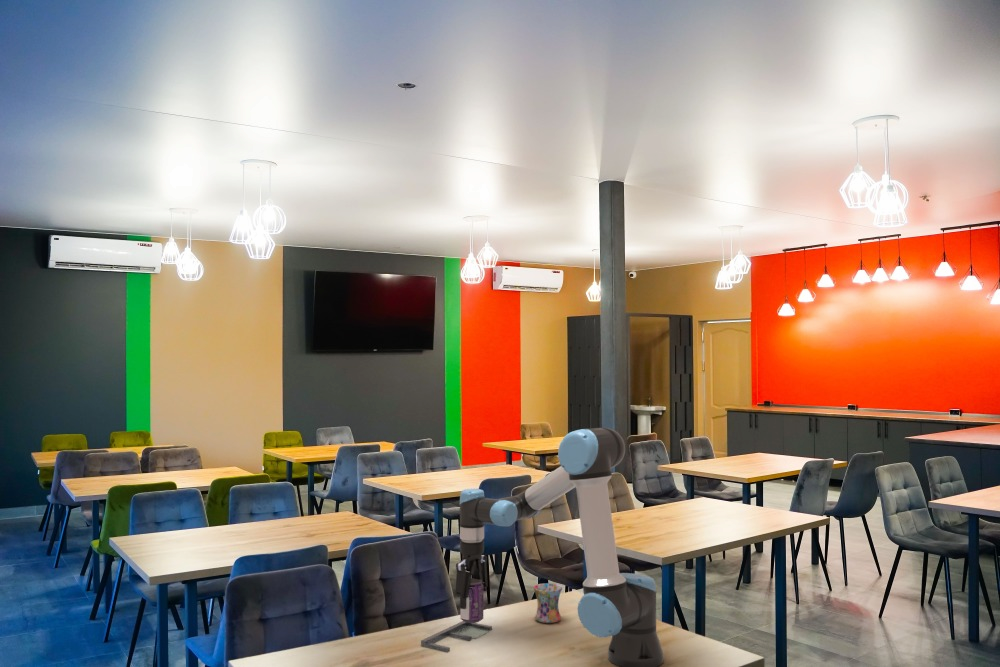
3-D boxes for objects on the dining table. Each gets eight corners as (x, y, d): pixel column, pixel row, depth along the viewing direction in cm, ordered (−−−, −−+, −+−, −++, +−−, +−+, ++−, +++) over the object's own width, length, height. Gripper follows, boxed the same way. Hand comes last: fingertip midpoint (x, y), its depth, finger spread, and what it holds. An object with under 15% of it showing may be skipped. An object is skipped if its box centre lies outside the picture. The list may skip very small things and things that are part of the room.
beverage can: (456, 618, 237) (457, 579, 237) (477, 615, 240) (478, 576, 240) (465, 625, 230) (465, 585, 231) (487, 622, 233) (487, 582, 234)
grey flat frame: (493, 629, 238) (493, 624, 238) (448, 652, 218) (448, 646, 218) (466, 624, 243) (466, 619, 243) (421, 646, 224) (421, 640, 224)
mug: (562, 625, 242) (562, 591, 243) (533, 625, 242) (533, 590, 243) (561, 613, 254) (561, 581, 255) (533, 613, 254) (533, 580, 255)
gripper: (479, 533, 246) (479, 605, 245) (443, 544, 230) (442, 622, 229) (499, 535, 242) (499, 609, 241) (463, 547, 226) (463, 626, 225)
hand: (471, 615), depth 235 cm, fingers closed on beverage can, 7 cm apart
